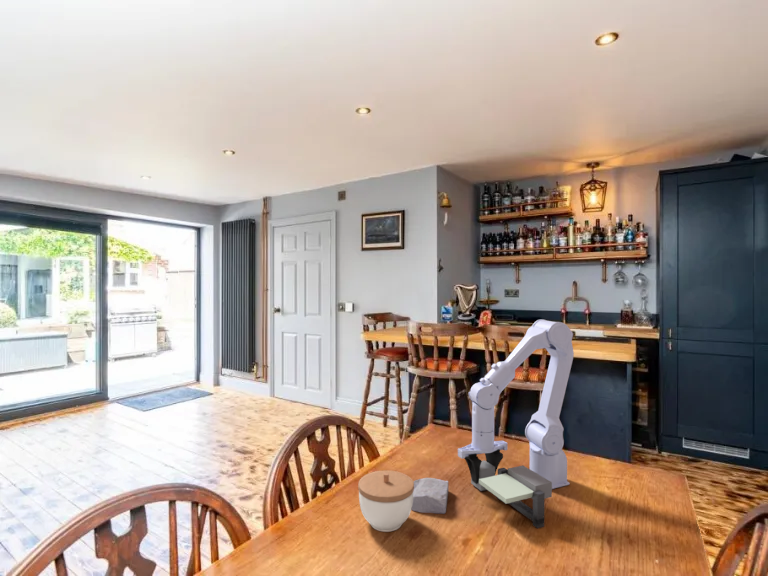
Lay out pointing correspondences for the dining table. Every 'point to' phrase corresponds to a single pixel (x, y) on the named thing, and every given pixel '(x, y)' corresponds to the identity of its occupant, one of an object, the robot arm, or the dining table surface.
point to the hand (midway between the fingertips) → (482, 480)
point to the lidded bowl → (386, 499)
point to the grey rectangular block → (484, 473)
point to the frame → (532, 514)
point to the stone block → (430, 495)
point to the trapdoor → (517, 484)
